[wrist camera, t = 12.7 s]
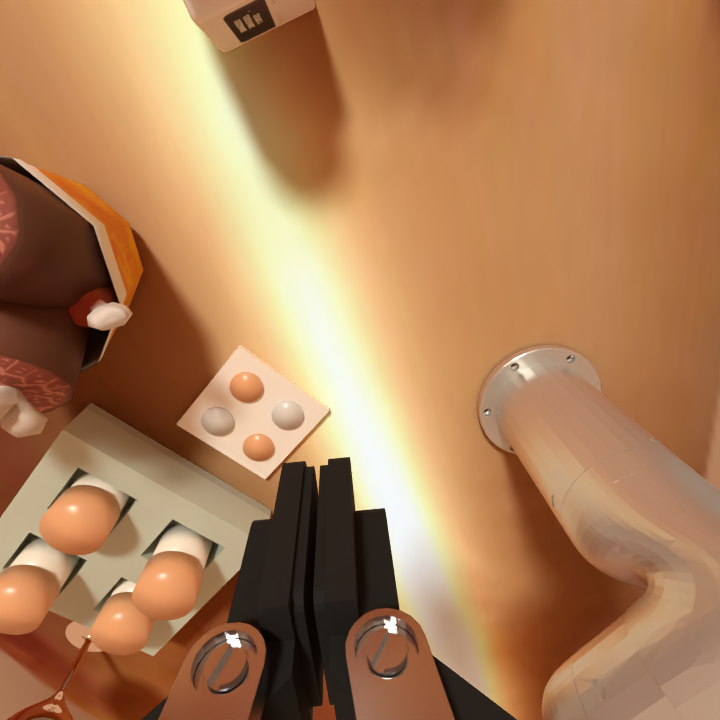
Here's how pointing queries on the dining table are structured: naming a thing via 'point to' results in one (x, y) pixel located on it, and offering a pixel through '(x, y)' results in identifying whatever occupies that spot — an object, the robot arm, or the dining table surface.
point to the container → (243, 18)
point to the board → (130, 514)
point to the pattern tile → (252, 413)
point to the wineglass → (53, 713)
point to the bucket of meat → (56, 289)
